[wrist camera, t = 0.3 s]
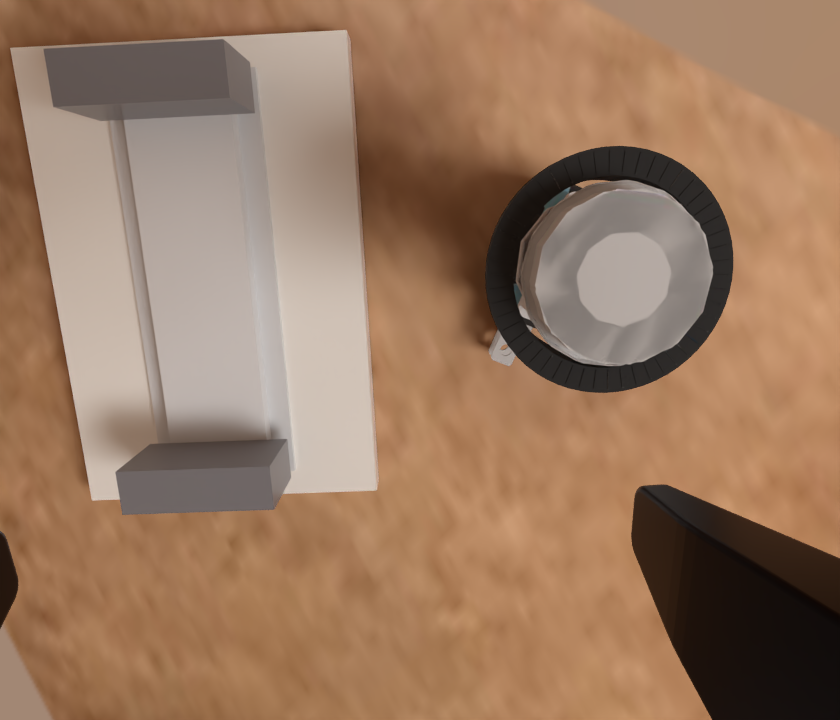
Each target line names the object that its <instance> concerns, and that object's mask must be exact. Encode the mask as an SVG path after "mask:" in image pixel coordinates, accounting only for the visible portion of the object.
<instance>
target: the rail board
mask: <svg viewBox="0 0 840 720" xmlns="http://www.w3.org/2000/svg"><path fill="white" fill-rule="evenodd" d="M10 50H11V56H12V61H13V67H14V73H15V78H16V84H17V89H18V95H19V100H20V106H21V111H22V117H23V122H24V128H25V133H26V139H27V144H28V150H29V155H30V161H31V166H32V172H33V177H34V183H35V188H36V194H37V199H38V205H39V210H40V216H41V222H42V227H43V233H44V238H45V244H46V249H47V255H48V260H49V266H50V271H51V277H52V282H53V288H54V293H55V299H56V304H57V310H58V315H59V321H60V326H61V332H62V337H63V343H64V348H65V354H66V359H67V365H68V371H69V376H70V382H71V387H72V393H73V398H74V404H75V409H76V415H77V420H78V426H79V431H80V437H81V442H82V448H83V453H84V459H85V464H86V470H87V475H88V481H89V486H90V492H91V497H92V500H115V499H120V503H121V509H122V515H128V514H158V513H187V512H217V511H246V510H274V509H275V507H276V505H277V503H278V501H279V500H280V498H281V496H282V494H289V493H318V492H347V491H376V490H377V486H378V481H379V475H378V460H377V444H376V429H375V413H374V398H373V382H372V367H371V351H370V336H369V320H368V305H367V289H366V273H365V258H364V242H363V227H362V211H361V196H360V180H359V165H358V149H357V134H356V118H355V103H354V87H353V71H352V56H351V40H350V37H349V35H348V32H347V30H335V31H317V32H298V33H279V34H261V35H242V36H223V37H205V38H186V39H167V40H149V41H130V42H111V43H92V44H74V45H55V46H36V47H18V48H10Z"/></svg>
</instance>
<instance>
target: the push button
mask: <svg viewBox="0 0 840 720" xmlns="http://www.w3.org/2000/svg"><path fill="white" fill-rule="evenodd" d="M588 180H606V181H612V182H602V183H595V184H592V185H588V186H586V187H584V188H581V187H578V186H576V185H575V184H577V183H580V182H583V181H588ZM732 273H733V248H732V240H731V236H730V231H729V227H728V224H727V222H726V219H725V216H724V214H723V212H722V210H721V207H720V205H719V203H718V202H717V200H716V199H715V197H714V196H713V194H712V192H711V191H710V190H709V189H708V188H707V186H706V185H705V184H704V183H703V182H702V181H701V180H700V179H699V178H698V177H697V176H696V175H695V174H694V173H693V172H691V171H690V170H689V169H687V168H686V167H685V166H683V165H682V164H680V163H678V162H677V161H675V160H673V159H672V158H669V157H667V156H665V155H662V154H660V153H657V152H654V151H650V150H647V149H642V148H636V147H627V146H610V147H601V148H595V149H590V150H586V151H583V152H579V153H576V154H574V155H571V156H569V157H566V158H564V159H562V160H560V161H558V162H556V163H554V164H552V165H550V166H549V167H547V168H546V169H544V170H542V171H541V172H539V173H538V174H537V175H536V176H534V177H533V178H532V179H531V180H530V181H528V182H527V183H526V184H525V185H524V186H523V187H522V188H521V189H520V190H519V191H518V193H517V194H516V195H515V196H514V198H513V199H512V200H511V201H510V203H509V204H508V206H507V207H506V209H505V210H504V212H503V213H502V215H501V217H500V219H499V221H498V223H497V225H496V228H495V230H494V233H493V235H492V238H491V242H490V245H489V249H488V254H487V260H486V272H485V280H486V292H487V299H488V303H489V307H490V311H491V314H492V316H493V319H494V322H495V325H496V326H497V328H498V330H497V332H496V334H495V336H494V339H493V341H492V343H491V346H490V348H489V350H488V351H489V354H491V358H492V360H494V361H497V362H500V363H502V364H505V365H507V366H509V365H512V362H513V360H514V358H515V356H517V357H518V358H519V359H520V360H521V361H522V362H523V363H524V364H525V365H526V366H528V367H529V368H530V369H532V370H533V371H534V372H535V373H537V374H539V375H540V376H542V377H544V378H545V379H547V380H549V381H551V382H554V383H556V384H558V385H561V386H564V387H567V388H570V389H575V390H579V391H585V392H598V393H607V392H619V391H624V390H629V389H633V388H637V387H640V386H643V385H646V384H648V383H651V382H653V381H656V380H657V379H659V378H661V377H663V376H665V375H667V374H669V373H670V372H672V371H673V370H675V369H676V368H678V367H679V366H680V365H681V364H683V363H684V362H685V361H686V360H688V359H689V358H690V357H691V356H692V355H693V354H694V353H695V352H696V351H697V350H698V349H699V348H700V346H701V345H702V344H703V343H704V342H705V341H706V339H707V338H708V336H709V335H710V333H711V332H712V330H713V329H714V327H715V325H716V324H717V322H718V320H719V318H720V316H721V314H722V311H723V309H724V307H725V304H726V301H727V298H728V295H729V291H730V286H731V281H732ZM532 328H536V329H537V330H538V331H539V333H540V334H541V336H542V337H543V339H544V340H545V341H546V342H547V343H548V344H547V343H545V342H543V341H542V340H540V339H539V338H537V337H536V336H535V335H534V334H532V333H531V330H532ZM504 344H507V345H508V347H507V348H506V349H504V350H501V349H500V348H501V346H502V345H504Z"/></svg>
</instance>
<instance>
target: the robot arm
mask: <svg viewBox="0 0 840 720" xmlns="http://www.w3.org/2000/svg"><path fill="white" fill-rule="evenodd" d="M631 539H632V546H633V550H634V553H635V556H636V558H637V560H638V563H639V565H640V568H641V570H642V573H643V575H644V578H645V580H646V583H647V585H648V587H649V590H650V592H651V595H652V597H653V600H654V602H655V605H656V607H657V610H658V612H659V615H660V617H661V619H662V622H663V624H664V627H665V629H666V632H667V634H668V636H669V638H670V641H671V643H672V645H673V647H674V649H675V651H676V653H677V655H678V657H679V659H680V661H681V663H682V665H683V666H684V668H685V670H686V672H687V674H688V676H689V678H690V679H691V681H692V683H693V685H694V687H695V689H696V691H697V692H698V694H699V696H700V698H701V700H702V702H703V704H704V705H705V707H706V709H707V711H708V713H709V715H710V716H711V718H712V720H840V558H838V557H835V556H833V555H831V554H828V553H826V552H824V551H821V550H819V549H817V548H814V547H812V546H810V545H807V544H805V543H802V542H800V541H798V540H795V539H793V538H791V537H788V536H786V535H784V534H781V533H779V532H777V531H774V530H772V529H770V528H767V527H765V526H763V525H760V524H758V523H755V522H753V521H751V520H748V519H746V518H744V517H741V516H739V515H737V514H734V513H732V512H730V511H727V510H725V509H723V508H720V507H718V506H716V505H713V504H711V503H708V502H706V501H704V500H701V499H699V498H697V497H694V496H692V495H690V494H687V493H685V492H683V491H680V490H678V489H676V488H673V487H671V486H668V485H647V486H641V487H639V488H638V489H637V491H636V493H635V498H634V510H633V521H632V533H631ZM17 591H18V576H17V573H16V569H15V566H14V563H13V559H12V556H11V552H10V549H9V545H8V542H7V539H6V537H5V535H4V534H3V533H2V532H1V531H0V628H1V626H2V624H3V622H4V620H5V618H6V616H7V614H8V612H9V610H10V608H11V606H12V604H13V602H14V600H15V597H16V594H17Z"/></svg>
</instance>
